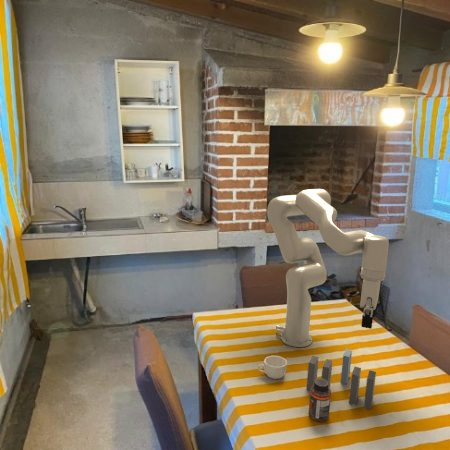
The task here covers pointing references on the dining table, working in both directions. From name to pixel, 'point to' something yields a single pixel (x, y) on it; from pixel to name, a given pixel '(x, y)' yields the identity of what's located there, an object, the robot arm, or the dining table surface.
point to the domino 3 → (346, 366)
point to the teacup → (274, 366)
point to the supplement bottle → (319, 400)
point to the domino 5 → (369, 389)
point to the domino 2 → (327, 371)
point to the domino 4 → (354, 385)
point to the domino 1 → (312, 372)
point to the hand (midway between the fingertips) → (367, 321)
